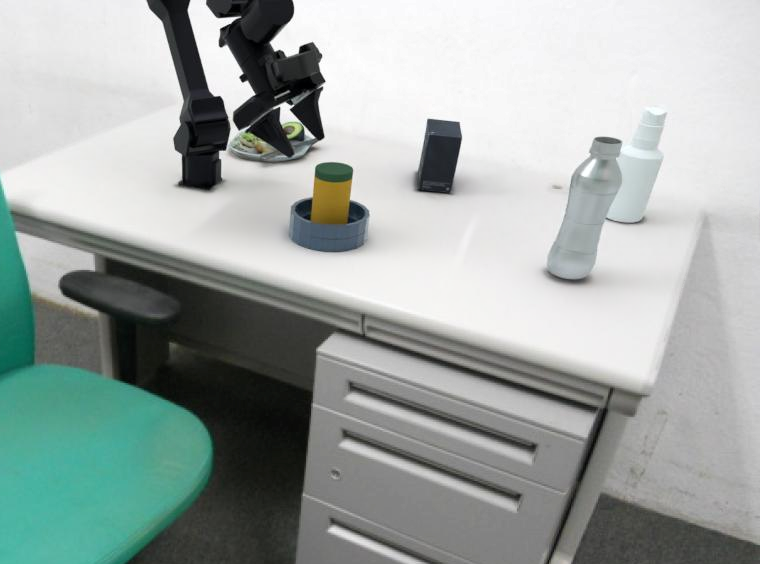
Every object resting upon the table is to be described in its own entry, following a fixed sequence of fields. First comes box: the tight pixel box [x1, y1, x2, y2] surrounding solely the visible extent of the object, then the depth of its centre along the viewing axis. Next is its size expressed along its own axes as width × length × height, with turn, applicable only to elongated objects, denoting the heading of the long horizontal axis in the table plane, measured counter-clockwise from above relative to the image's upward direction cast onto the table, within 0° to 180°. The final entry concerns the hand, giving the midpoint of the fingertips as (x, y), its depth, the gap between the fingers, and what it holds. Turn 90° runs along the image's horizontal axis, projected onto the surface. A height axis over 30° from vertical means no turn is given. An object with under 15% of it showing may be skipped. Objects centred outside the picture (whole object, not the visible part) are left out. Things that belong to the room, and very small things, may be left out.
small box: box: [416, 118, 463, 194], centre depth 144 cm, size 11×6×10 cm, turn 168°
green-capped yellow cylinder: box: [311, 161, 354, 225], centre depth 121 cm, size 6×6×11 cm
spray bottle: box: [605, 106, 669, 223], centre depth 130 cm, size 7×7×18 cm
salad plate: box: [227, 121, 320, 163], centre depth 159 cm, size 19×18×5 cm
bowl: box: [288, 196, 371, 253], centre depth 123 cm, size 12×12×5 cm
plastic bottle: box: [546, 136, 623, 280], centre depth 110 cm, size 6×7×20 cm
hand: (307, 147), depth 121 cm, fingers open, 9 cm apart
